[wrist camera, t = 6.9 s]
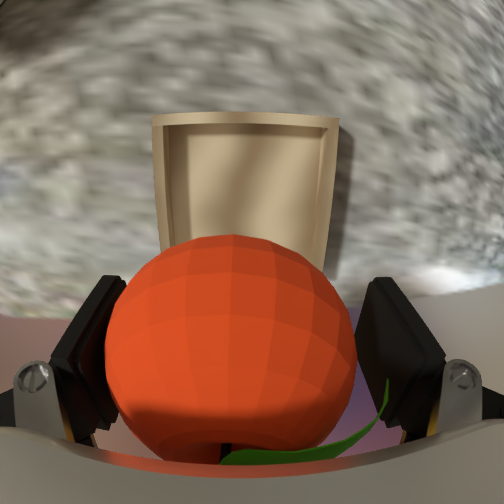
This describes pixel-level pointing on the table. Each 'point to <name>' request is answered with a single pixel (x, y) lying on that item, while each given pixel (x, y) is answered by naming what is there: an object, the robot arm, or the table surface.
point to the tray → (245, 178)
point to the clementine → (232, 355)
